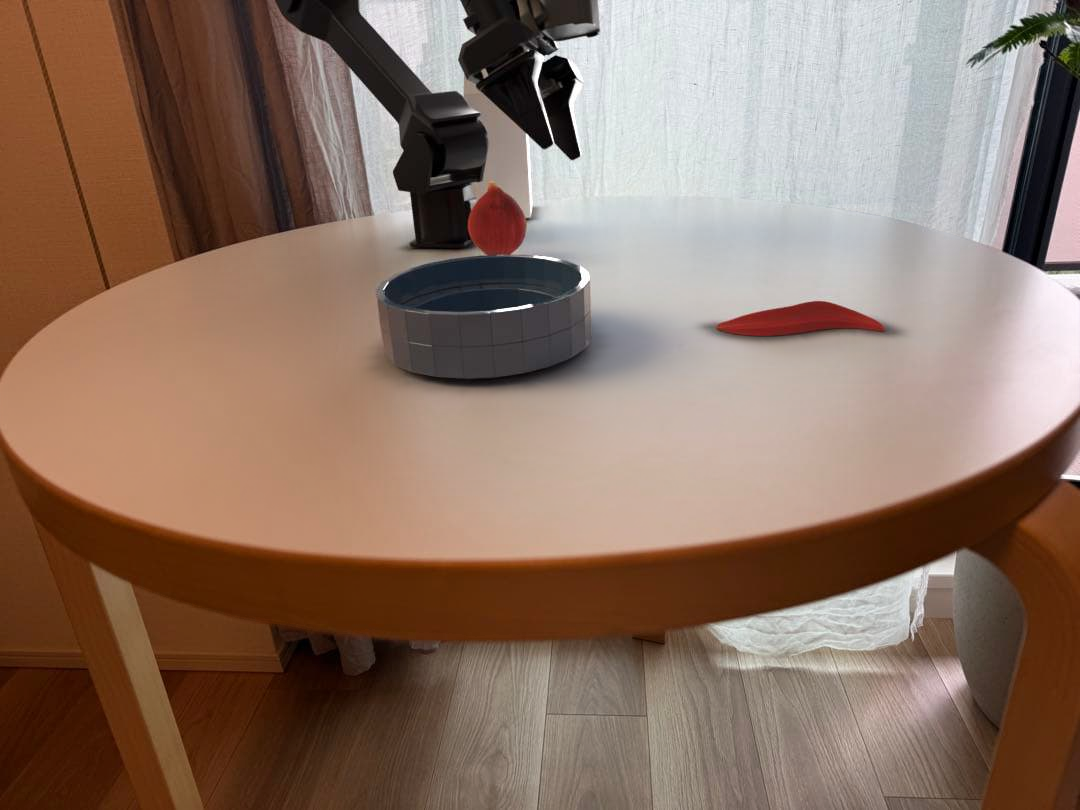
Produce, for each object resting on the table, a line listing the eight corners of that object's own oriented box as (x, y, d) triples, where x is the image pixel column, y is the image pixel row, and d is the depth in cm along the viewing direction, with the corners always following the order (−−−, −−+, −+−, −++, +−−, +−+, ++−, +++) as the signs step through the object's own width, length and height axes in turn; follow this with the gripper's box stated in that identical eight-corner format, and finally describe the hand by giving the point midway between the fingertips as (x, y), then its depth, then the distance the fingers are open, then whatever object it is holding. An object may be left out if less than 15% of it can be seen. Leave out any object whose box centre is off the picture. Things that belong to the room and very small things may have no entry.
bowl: (347, 380, 56) (336, 310, 54) (432, 311, 70) (426, 253, 68) (562, 393, 52) (559, 318, 50) (609, 317, 66) (608, 256, 64)
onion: (537, 256, 85) (533, 177, 82) (512, 270, 80) (507, 187, 77) (488, 253, 87) (482, 176, 84) (461, 267, 83) (453, 185, 79)
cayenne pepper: (883, 321, 61) (886, 296, 61) (887, 342, 57) (891, 316, 57) (719, 314, 65) (720, 291, 64) (713, 333, 61) (714, 309, 60)
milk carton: (531, 219, 102) (521, 53, 95) (474, 221, 103) (460, 56, 95) (532, 208, 109) (523, 51, 101) (478, 210, 109) (466, 55, 101)
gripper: (536, -91, 65) (618, 90, 66) (594, -18, 83) (658, 124, 83) (422, -13, 69) (500, 158, 70) (501, 41, 87) (563, 177, 87)
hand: (563, 153), depth 77 cm, fingers open, 9 cm apart
